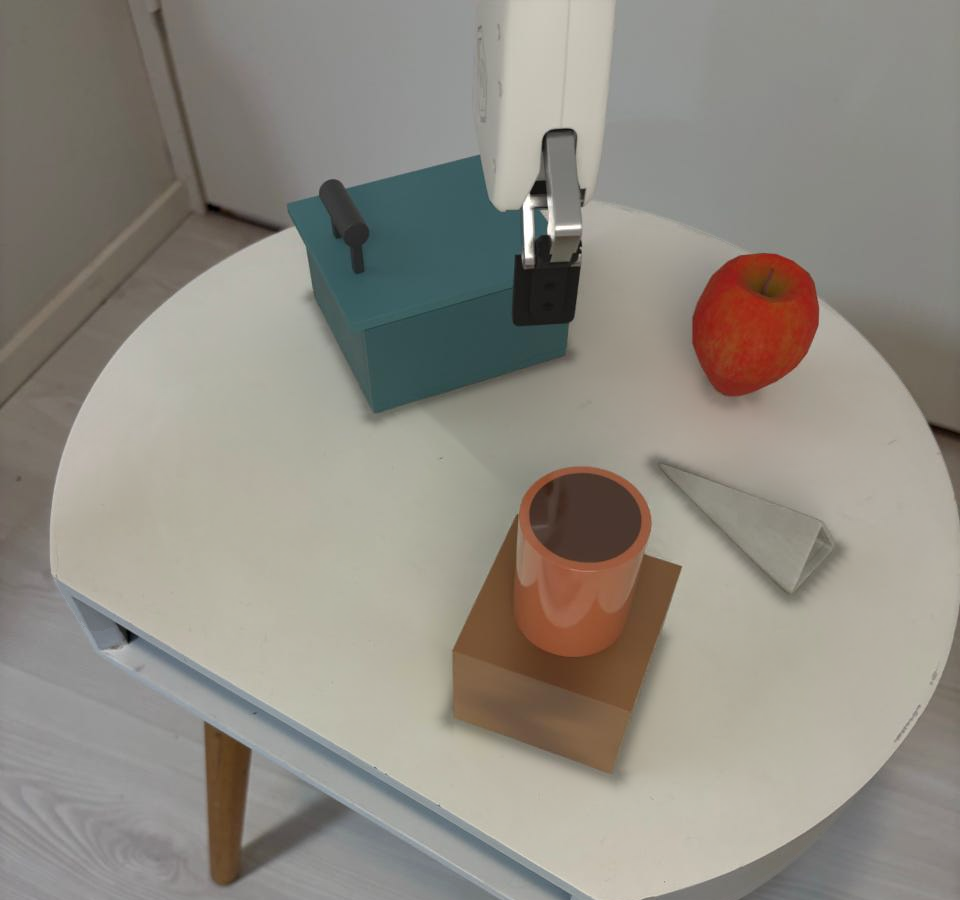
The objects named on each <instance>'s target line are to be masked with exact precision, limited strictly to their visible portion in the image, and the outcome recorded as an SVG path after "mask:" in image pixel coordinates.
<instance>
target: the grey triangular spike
mask: <svg viewBox="0 0 960 900" xmlns="http://www.w3.org/2000/svg"><path fill="white" fill-rule="evenodd" d="M657 465H658V467H659V469H660V470H662V472H663V473H664V474H665V475H666V476H667V477H668V478H669V479H670V480H671V481H672V482H673V483H674V484H675V485H676V486H677V487H678V488H679V489H680V490H681V491H682V492H683V493H684V494H685V495H686V496H687V497H688V498H689V499H690V500H691V501H692V502H693V504H695V505H696V506H697V507H698V508H699V509H700V510H701V511H702V512H703V513H704V514H705V515H706V516H707V517H708V518H709V519H711V521H712V522H713V523H714V524H715V525H716V526H718V528H719V529H721V530H722V532H724V533H725V534H726V536H727V537H729V539H730V540H732V542H734V544H736V546H738V547H739V548H740V549H741V551H743V552H744V553H745V554H746V555H747V556H748V557H749V558H750V559H751V560H752V561H753V562H754V563H755V564H756V565H757V566H758V567H759V568H760V569H761V570H762V571H763V572H764V573H765V574H766V575H767V576H769V578H770V579H771V580H773V581H774V582H775V583H776V584H777V585H778V586H779V587H780V588H781V589H783V590H784V591H785V592H786V593H788V594H789V595H792V594H794V592H795V591H796V590H797V589H799V587H800V586H801V585H802V584H803V583H804V582H805V581H806V580H807V578H809V576H810V575H812V573H813V572H814V571H815V570H816V569H817V568H818V567H819V566H820V565H821V563H822V562H823V561H824V560H825V559H826V558H827V557H828V556H829V555H830V554H831V553H832V551H833V550H834V549H835V548H836V545H837V544H836V542H835V539H834V538H833V536H832V534H831V532H830V530H829V529H828V526H827V525H826V523H825V522H824V521H823V520H820V519H818V518H816V517H813V516H811V515H808V514H805V513H803V512H800V511H797V510H795V509H792V508H789V507H786V506H783V505H781V504H778V503H775V502H772V501H769V500H767V499H764V498H761V497H759V496H756V495H753V494H751V493H747V492H744V491H741V490H739V489H736V488H732V487H730V486H727V485H725V484H722V483H718V482H715V481H713V480H711V479H707V478H704V477H701V476H698V475H696V474H694V473H690V472H687V471H686V470H685V471H684V470H682V469H680V468H676V467H673V466H671V465H667V464H663V463H658V464H657Z"/></svg>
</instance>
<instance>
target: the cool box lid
mask: <svg viewBox="0 0 960 900" xmlns="http://www.w3.org/2000/svg"><path fill="white" fill-rule="evenodd" d="M286 210H287V214H288V216H289V218H290V219H291V221H292V223H293V225H294V227H295V229H296V231H297V232H298V235H299V236H300V238H301V240H302V242H303V244H304V246H305V249H306V248H307V250H308V252H309V253H310V255H311V257H312V259H313V261H314V263H315V265H316V267H317V269H318V271H319V272H320V274H321V276H322V278H323V280H324V282H325V284H326V286H327V288H328V290H329V291H330V293H331V295H332V297H333V299H334V301H335V303H336V305H337V307H338V309H339V310H340V312H341V314H342V316H343V318H344V320H345V322H346V324H347V326H348V327H349V329H350V331H351V333H356V332H359V331H363V330H366V329H370V328H373V327H377V326H380V325H384V324H387V323H391V322H394V321H398V320H401V319H404V318H408V317H411V316H415V315H418V314H422V313H425V312H429V311H432V310H436V309H439V308H443V307H446V306H450V305H453V304H457V303H460V302H464V301H467V300H470V299H474V298H477V297H481V296H484V295H488V294H491V293H495V292H498V291H502V290H505V289H509V288H512V287H513V278H514V261H515V255H520V254H521V234H520V210H506V212H500V211H499V210H498V209H497V208H495V206H493V205H492V204H491V202H490V199H489V196H488V192H487V187H486V182H485V177H484V172H483V167H482V162H481V157H480V153H479V154H475V155H472V156H468V157H465V158H461V159H456V160H451V161H448V162H444V163H439V164H437V165H432V166H429V167H425V168H421V169H418V170H416V169H415V170H413V171H409V172H405V173H400V174H397V175H394V176H389V177H387V178H386V177H385V178H382V179H381V178H380V179H377V180H374V181H370V182H366V183H362V184H358V185H353V186H350V187H345V186H344V184H343V183H342V182H341V181H340V180H339V179H334V178H330V179H326V181H324V182H323V183H322V184H321V185H320V187H319V189H318V195H315V196H310V197H306V198H303V199H300V200H295V201H290V202H287V203H286ZM534 227H535V241H536V240H537V239H538V238H539V237H540V235H548V233H547V227H548V220H547V218H546V217H545V215H544V214H543V212H542V210H534Z"/></svg>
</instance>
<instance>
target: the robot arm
mask: <svg viewBox="0 0 960 900" xmlns="http://www.w3.org/2000/svg"><path fill="white" fill-rule="evenodd" d="M617 2H618V0H476V4H475V5H476V8H475V30H474V50H473V51H474V52H473V68H472V69H473V72H472V89H471V90H472V92H471V99H472V100H471V102H472V115H473V122H474V127H475V135H476V139H477V145H478V151H479V154H480V157H481V162H482V167H483V172H484V177H485V182H486V187H487V192H488V196H489V199H490V202H491V204H492V205H493V206H495V208H497V209H498V210H499V211H500V212H506V210H520V234H521V254H520V255H515V261H514V278H513V296H512V313H511V314H512V320H513V324H514V325H516V326H535V325H550V324H566V323H569V324H570V323H572V322H573V321H574V320H575V315H576V310H577V309H576V308H577V301H578V293H579V285H580V277H581V269H582V268H581V267H582V261H583V241H582V239H583V238H582V236H583V215H582V208H585V207H586V206H587V205H588V204H589V203H590V202H591V201H592V200H593V198H594V197H595V193H596V190H597V186H598V185H597V184H598V180H599V174H600V169H601V162H602V155H603V149H604V141H605V132H606V122H607V114H608V105H609V104H608V103H609V98H610V97H609V96H610V87H611V76H612V66H613V64H612V63H613V54H614V41H615V33H616V31H617V24H616V17H617ZM534 210H540V211H548V220H547V221H548V227H547V233H548V235H540V237H539V238H538V239H537V240H536V241H535V227H534Z"/></svg>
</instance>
